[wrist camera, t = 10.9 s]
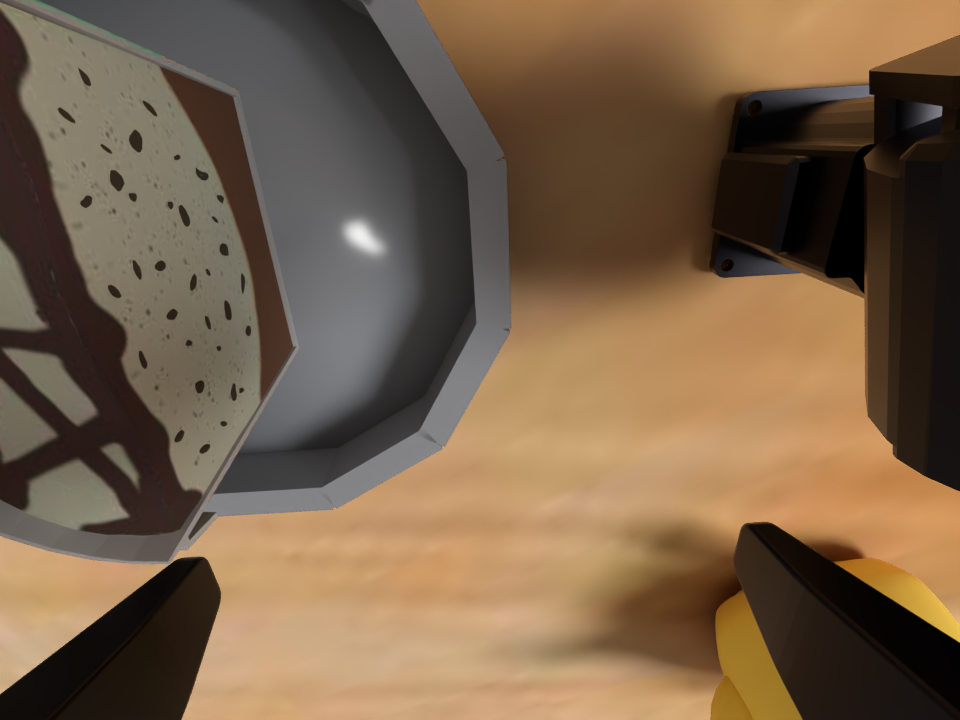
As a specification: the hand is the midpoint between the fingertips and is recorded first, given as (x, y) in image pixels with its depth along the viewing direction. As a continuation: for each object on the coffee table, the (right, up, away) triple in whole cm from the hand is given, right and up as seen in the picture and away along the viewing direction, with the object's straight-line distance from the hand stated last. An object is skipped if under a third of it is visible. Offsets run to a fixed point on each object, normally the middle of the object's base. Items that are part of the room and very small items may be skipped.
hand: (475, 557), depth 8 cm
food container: (-11, +8, +10) cm, 16 cm away
